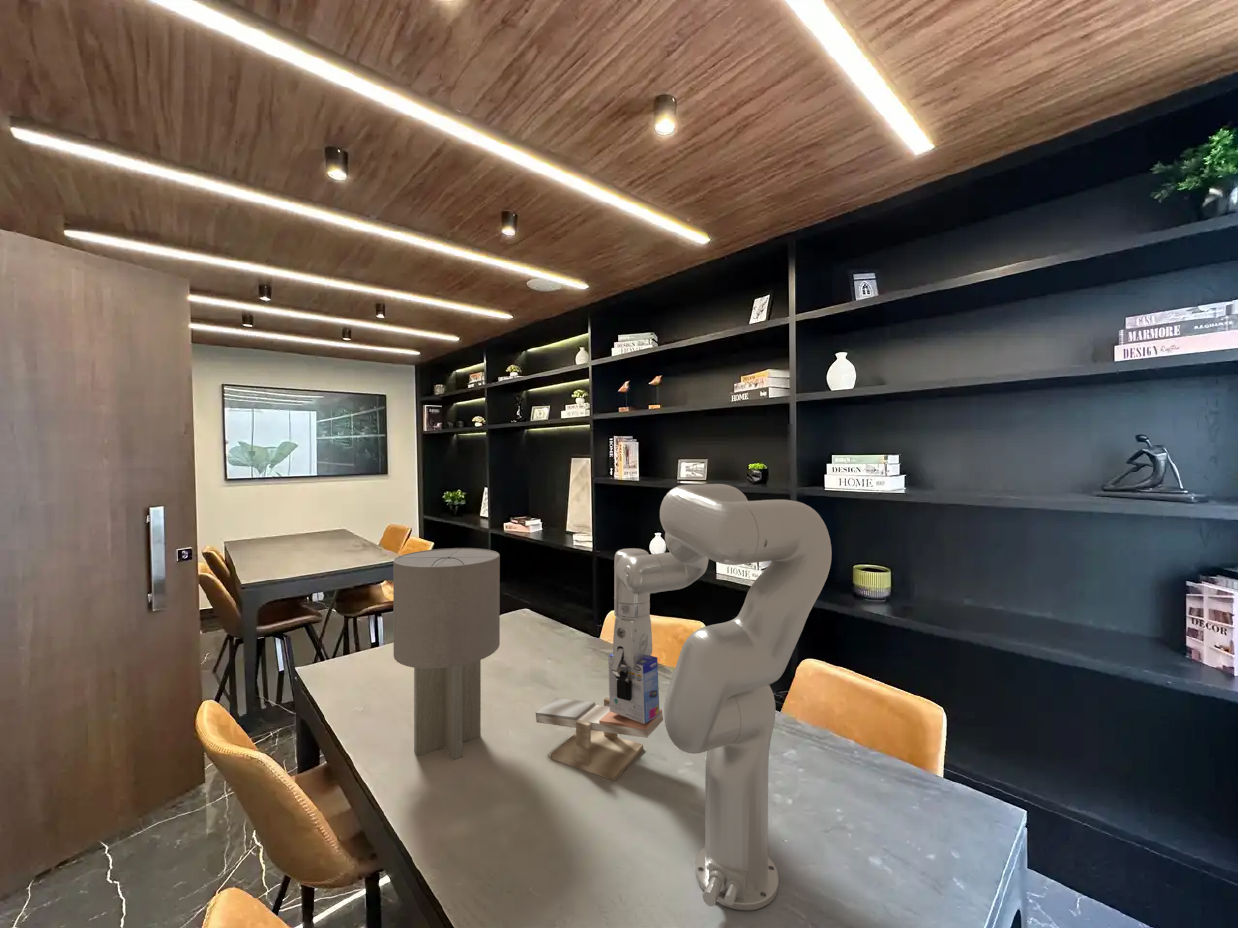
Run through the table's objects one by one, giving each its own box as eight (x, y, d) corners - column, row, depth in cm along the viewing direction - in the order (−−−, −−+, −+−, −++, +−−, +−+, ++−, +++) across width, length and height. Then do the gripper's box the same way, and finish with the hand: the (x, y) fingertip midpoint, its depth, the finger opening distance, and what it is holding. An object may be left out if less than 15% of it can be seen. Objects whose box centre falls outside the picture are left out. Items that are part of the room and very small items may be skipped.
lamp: (404, 787, 100) (404, 571, 100) (385, 735, 119) (385, 553, 119) (514, 751, 113) (514, 559, 112) (481, 709, 132) (481, 544, 132)
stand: (643, 748, 114) (643, 706, 114) (614, 780, 102) (614, 733, 102) (583, 730, 122) (583, 691, 121) (550, 758, 110) (550, 714, 110)
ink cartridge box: (661, 714, 106) (658, 645, 106) (645, 725, 102) (642, 654, 102) (625, 701, 113) (622, 636, 113) (608, 712, 109) (605, 644, 108)
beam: (665, 717, 110) (663, 707, 110) (644, 740, 101) (643, 728, 101) (559, 705, 123) (558, 696, 123) (533, 724, 114) (532, 714, 114)
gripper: (628, 621, 98) (628, 714, 99) (664, 600, 113) (664, 680, 114) (595, 616, 102) (595, 705, 102) (634, 595, 117) (634, 673, 117)
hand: (631, 691), depth 108 cm, fingers closed on ink cartridge box, 6 cm apart
